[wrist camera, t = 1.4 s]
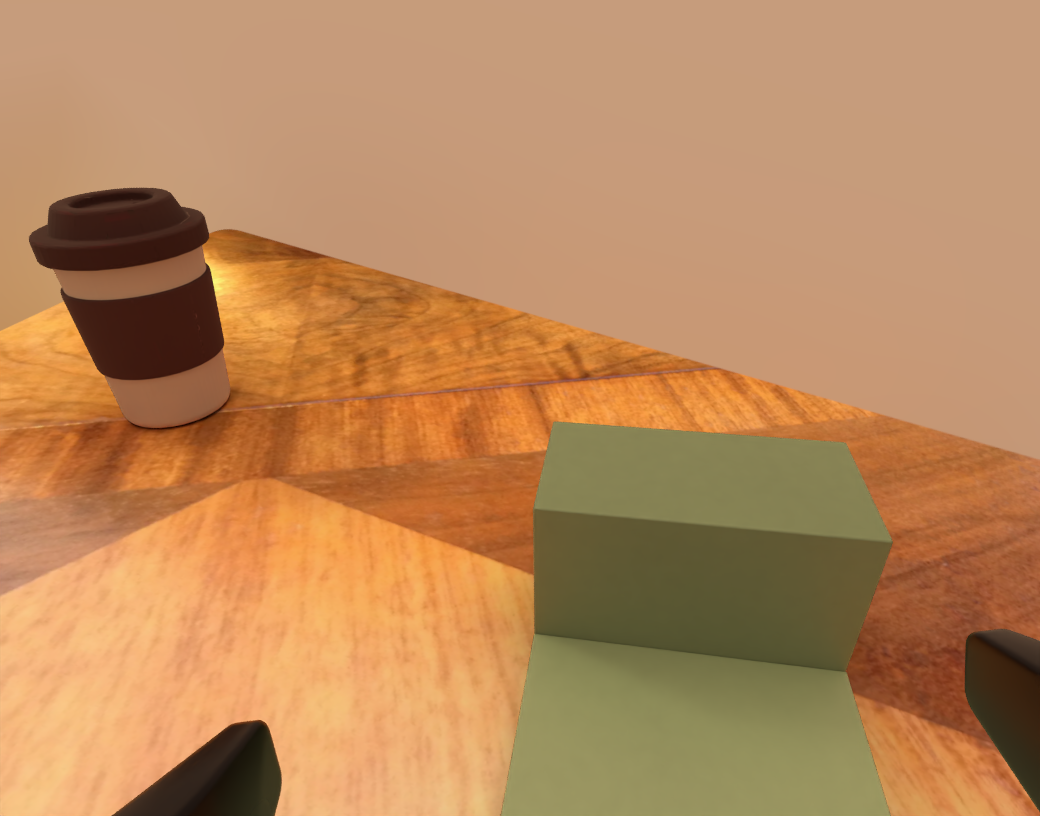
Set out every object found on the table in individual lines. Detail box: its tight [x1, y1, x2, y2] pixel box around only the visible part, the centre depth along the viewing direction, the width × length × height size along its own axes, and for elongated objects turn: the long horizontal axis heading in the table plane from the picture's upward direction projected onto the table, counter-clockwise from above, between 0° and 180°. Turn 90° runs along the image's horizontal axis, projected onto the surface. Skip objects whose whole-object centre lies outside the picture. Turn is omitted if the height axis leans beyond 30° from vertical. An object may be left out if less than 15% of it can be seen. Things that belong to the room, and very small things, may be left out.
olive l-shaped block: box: [501, 422, 893, 816], centre depth 22 cm, size 18×12×9 cm, turn 171°
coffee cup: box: [29, 188, 230, 428], centre depth 44 cm, size 10×10×15 cm
